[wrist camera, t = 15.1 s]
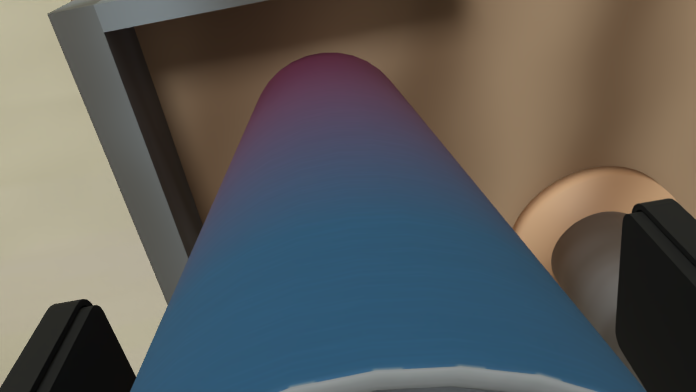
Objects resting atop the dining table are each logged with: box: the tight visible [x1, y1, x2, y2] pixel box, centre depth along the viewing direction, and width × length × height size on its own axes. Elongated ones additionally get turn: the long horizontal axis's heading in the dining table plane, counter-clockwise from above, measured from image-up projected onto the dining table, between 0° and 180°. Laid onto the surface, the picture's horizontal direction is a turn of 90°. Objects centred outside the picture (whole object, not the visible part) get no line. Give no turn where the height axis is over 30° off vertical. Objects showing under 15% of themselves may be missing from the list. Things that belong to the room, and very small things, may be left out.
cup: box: [130, 53, 647, 392], centre depth 13 cm, size 7×7×15 cm
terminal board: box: [48, 0, 696, 390], centre depth 17 cm, size 20×16×12 cm
